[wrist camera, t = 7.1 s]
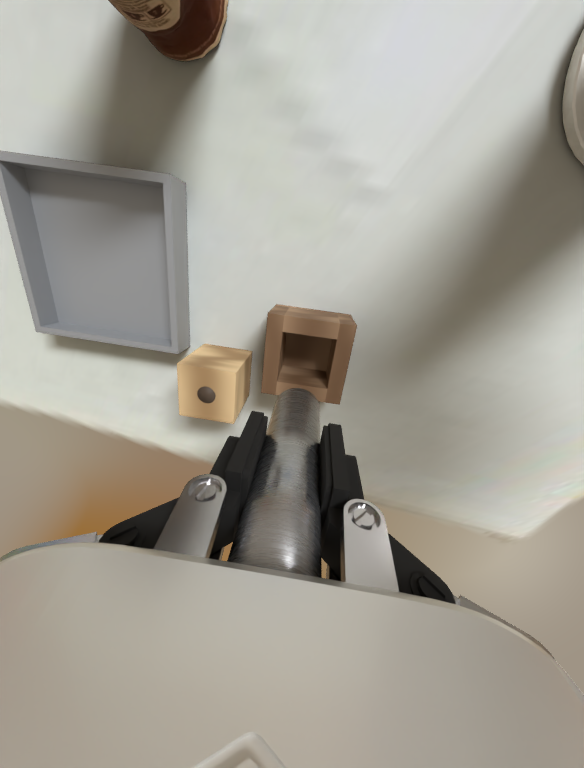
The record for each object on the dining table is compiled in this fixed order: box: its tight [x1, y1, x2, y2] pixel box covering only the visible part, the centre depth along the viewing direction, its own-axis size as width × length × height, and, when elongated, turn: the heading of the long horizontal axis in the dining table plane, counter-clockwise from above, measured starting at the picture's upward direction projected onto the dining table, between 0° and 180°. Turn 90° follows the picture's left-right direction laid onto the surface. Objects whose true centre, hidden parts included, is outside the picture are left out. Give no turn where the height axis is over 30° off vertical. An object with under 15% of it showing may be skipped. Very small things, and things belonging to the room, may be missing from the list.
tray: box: [0, 151, 190, 354], centre depth 25 cm, size 14×14×3 cm
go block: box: [261, 304, 357, 404], centre depth 25 cm, size 7×7×5 cm
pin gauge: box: [227, 388, 321, 578], centre depth 10 cm, size 3×3×12 cm
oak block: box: [177, 344, 252, 424], centre depth 26 cm, size 5×5×6 cm
